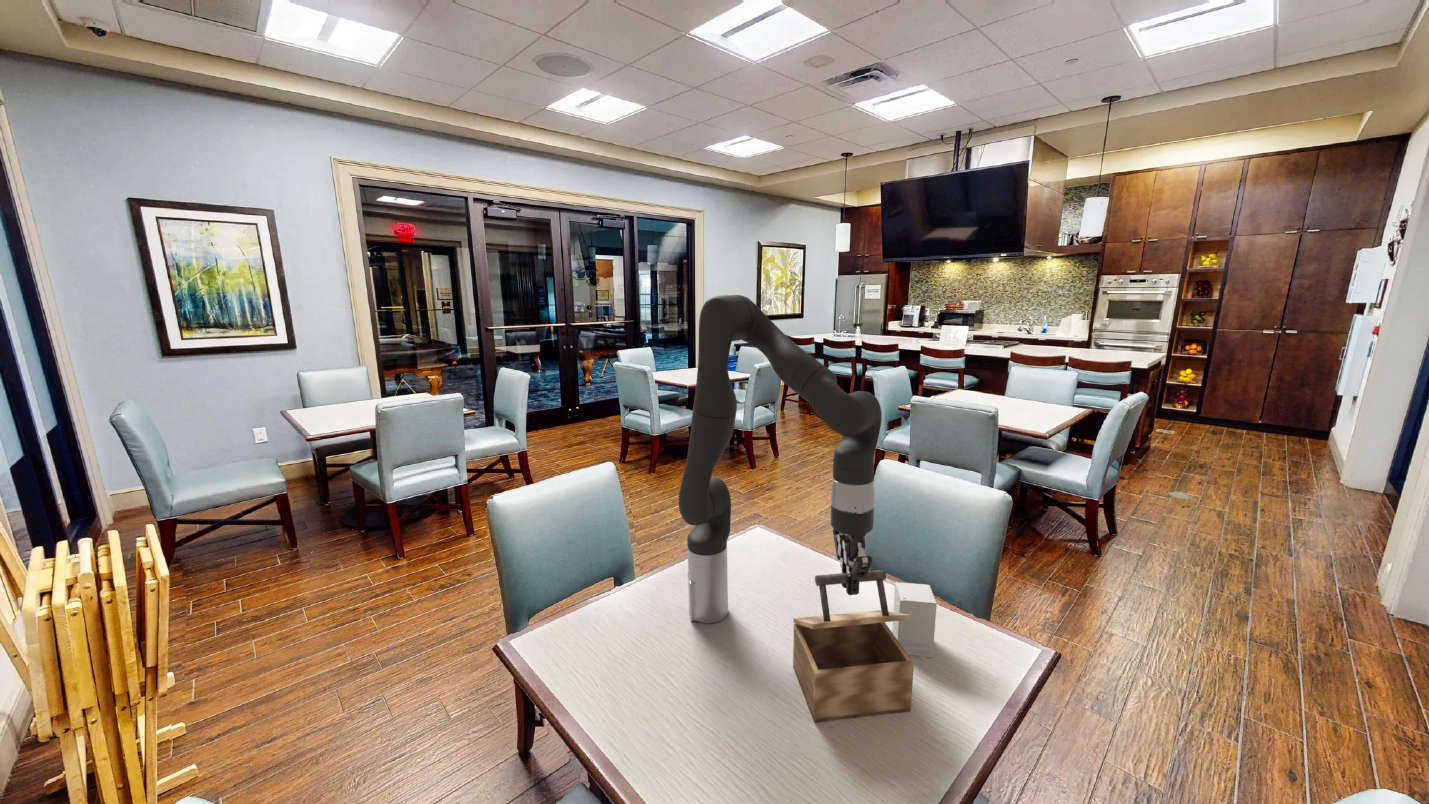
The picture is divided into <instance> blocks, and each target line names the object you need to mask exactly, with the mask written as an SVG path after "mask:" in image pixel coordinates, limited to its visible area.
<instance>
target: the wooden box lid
mask: <svg viewBox="0 0 1429 804" xmlns="http://www.w3.org/2000/svg"><path fill="white" fill-rule="evenodd" d="M846 575H847V574H846V573H842V572H841V573H830V574H829V573H828V574H818V575H815V577H814V581H815V582H814V583H815V585H816V586H817V587H818V588H819V594H820V602H821V611H822V615H817V616H816V615H815V616H806V617H795V618H792V619H793V620H792V621H793V624H795V623H796V624H799V625H802V626H805V627H808V628H811V629H819V628H830V627H840V626H850V625H861V624H871V623H881V622H885V623H889V622H893V621H902V620H911V617H910V615H908V614H901V613H894V612H893V611H889V608H888V601H887V597H886V596H887V595H886V591H885V583H884V581H886V579H887V574H886V571H885V570H884V569H878V570H877V569H875V570H869V571H868V573H867V575H866V578H859V583H863V582H864V583H866V582H876V587H877V593H878V598H879V605H880V609H879V610H871V611H870V610H869V611H868V610H867V611H859V612H847V613H838V614H830V613H831V612H830V607H829V601H828V600H829V599H828V592H827V591H828V590H827V586H829V585H831V586H832V585H841V584H844V583H846Z"/></svg>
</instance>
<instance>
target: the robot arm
mask: <svg viewBox="0 0 1429 804" xmlns="http://www.w3.org/2000/svg"><path fill="white" fill-rule="evenodd" d="M698 323H699V324H698V353H697V355H698V357H697V358H698V359H697V371H696V372H697V373H696V384H695V392H694V393H695V394H694V400H693V401H694V402H693V406H692V407H693V408H692V414H691V421H690V423H691V424H690V426H691V427H690V437H689V441H688V442H689V443H688V449H687V456H686V462H685V467H684V471H683V475H682V479H681V483H680V484H681V485H680V488H679V492H678V509H679V513H680V516H681V518H682V519H683V521H684V523H686V524H688V525H690V526H694V527H693V528H692V530H690V532H689V533H688V536H687V541H686V543H687V569H688V571H687V589H688V592H687V593H688V608H689V609H688V611H689V617H690V621H691V622H698V623H702V624H713V623H718V622H720V621H722V620H725V618H727V616H728V614H729V591H728V588H729V587H728V585H729V584H728V583H729V582H728V580H729V579H728V539H729V537H730V533H731V522H732V521H731V518H732V517H731V515H732V499H731V494H730V491H729V487H728V486H727V484H726V483H725V481H723V479H721V478H720V477H717V476H713V473H714V470H715V467H716V465H717V463H718V462H719V461H720V459H721V457H722V455H723V454H724V452H725V450H726V449H727V447H728V445H729V443H730V441H731V439H732V436H733V434H734V429H735V425H736V418H737V417H736V416H737V409H738V402H737V397H736V393H735V390H734V388H733V385H732V382H731V380H730V375H729V359H730V351H731V346H732V343H733V342H738V341H743V342H744V343H747V344H749V345H751V346H753V347H754V348H755V349H757V350H758V351H760V352H761V353H762V354H763V355H764V356H765V357H766V358H767V360H768V362H769V364H770V365H771V368H772V369H773V371H774V372H775V374H776V376H778V378H779V379H780V380H781V381H782V382H783V383H784V384H785V385H786V386H788V387H789V389H791V390H792V391H794V392H795V393H796V394H797V395H798V396H800V397H801V398H802V399H803V400H805V401H806V402H808V403H809V405H810V406H811V408H812V410H813V411H814V412H815V413H816V414H817V416H818V417H819V418H820V419H821V420H822V421H823V423H824V424H825V425H826V426H827V427H828V428H829V429H830V430H832V431H833V432H834V433H837V434H839V435H840V436H842V437H841V441H840V443H839V444H838V446H836V448H835V449H834V452H833V460H832V461H833V462H832V463H833V464H832V483H831V490H830V491H831V492H830V526H831V528H832V535H833V540H834V547H835V554H836V559H837V561H839V566H840V568H841V573H846V574H847V575H846V583H844V584H840V585H841V586H842V588H843V589H845V592H846V594H847V595H848V596H855V595H859V594H860V582H859V578H866V575H867V573H868V571H870V568H871V565H872V563H873V558H872V556H871V555H867V554H866V552H865V551H866V548H867V543H866V538H865V537H866V535H867V534H868V533H870V532H871V531H872V530H873V529H874V522H875V521H874V517H875V512H874V511H875V486H874V485H875V484H874V473H875V471H874V470H875V468H874V467H875V452H876V448H877V447H878V442H879V441H878V440H879V436H880V433H881V432H880V431H881V427H882V415H883V414H882V413H883V412H882V407H881V404H880V402H879V400H878V398H877V397H876V396H875V395H874V394H873V393H871V392H869V391H865V390H857V391H853V392H850V393H847V392H845V390H843V389H842V388H841V387H840V386H839V384H838V379H837V375H836V374H835V373H834V372H833V371H832V370H831V369H830V368H828V367H827V366H826V365H824V363H823V364H822V362H820V361H819V360H818V359H816V358H815V357H813V356H812V355H810V354H809V353H808V352H806V351H805V350H804V349H803V348H801V346H799V344H796V342H794V341H793V340H792V339H791V338H789V336H787V335H786V334H785V333H784V332H783V331H782V330H781V329H780V328H779V327H778V326H777V325H776V324H775V323H774V322H773V321H772V320H771V319H770V318H769V317H768V316H767V315H766V314H765V313H764V312H763V310H762V309H760V307H759V306H758V305H757V304H756V303H755V302H753V300H751V299H750V298H749V297H747V296H744V295H741V294H726V295H715V296H712V297H709V298H708V299H707V300H706V301H705V302H704V304H703V305H702V307H701V310H700V315H699V321H698Z"/></svg>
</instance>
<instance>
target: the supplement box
mask: <svg viewBox="0 0 1429 804" xmlns="http://www.w3.org/2000/svg"><path fill="white" fill-rule="evenodd" d="M893 595H894V597H893V610H892V612H894V613H901V614H908V615H910V617H911V620H902V621H892V628H891V632H892V633H893V635H894V636H895V637H896V639H897V640H898V642H899V643H900V644H901V646H902V647H903V649H904V650H905V651H906V653H907V654H908V656H914V657H923V658H924V657H925V658H933V656H934V644H935V643H934V642H935V633H936V618H937V617H936V616H937V604H938V603H937V600H936V598H935V595H934V592H933V590H932V587H931V585H930V584H923V583H911V582H897V581H895V583H894V594H893Z"/></svg>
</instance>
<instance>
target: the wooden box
mask: <svg viewBox="0 0 1429 804" xmlns="http://www.w3.org/2000/svg"><path fill="white" fill-rule="evenodd" d="M792 654H793V656H792V665H793V666H792V667H793V670H794V673H795V675H796V677H797V681H798V683H799V686H800V689H801V692H802V694H803V697H804V700H805V703H806V705H807V707H808V710H809V712H810V715H811V717H812V720H813V723H816V724H817V723H824V722H833V721H840V720H848V719H850V720H851V719H857V718H867V717H875V716H882V715H891V714H900V713H901V714H902V713H909V712H911V710H912V697H913V682H914V666H915V665H914V664H915V663H914V661H913V660H912V659H911V657H910V655H908V654H907V653H906V651H905V650H904V649H903V647H902V646H901V644H900V643H899V642H898V640H897V639H896V637H895V636H894V635H893V633H892V629H890V627H889V626H888V625H887V622H881V623H871V624H861V625H850V626H840V627H830V628H819V629H811V628H808V627H805V626H802V625H799V624H796V623H793V653H792Z"/></svg>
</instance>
